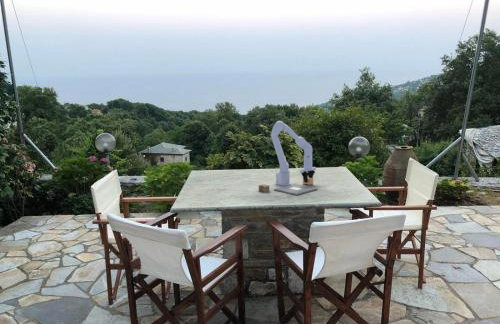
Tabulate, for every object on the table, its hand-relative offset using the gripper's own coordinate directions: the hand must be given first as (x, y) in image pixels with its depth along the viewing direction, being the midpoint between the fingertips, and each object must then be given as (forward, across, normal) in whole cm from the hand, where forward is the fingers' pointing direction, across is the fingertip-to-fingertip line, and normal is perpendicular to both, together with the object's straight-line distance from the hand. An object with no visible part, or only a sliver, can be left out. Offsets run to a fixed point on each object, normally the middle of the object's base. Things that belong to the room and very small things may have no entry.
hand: (308, 181), depth 272 cm
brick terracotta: (+1, 0, 0) cm, 1 cm away
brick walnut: (+2, -34, +8) cm, 35 cm away
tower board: (+2, -18, -5) cm, 19 cm away
